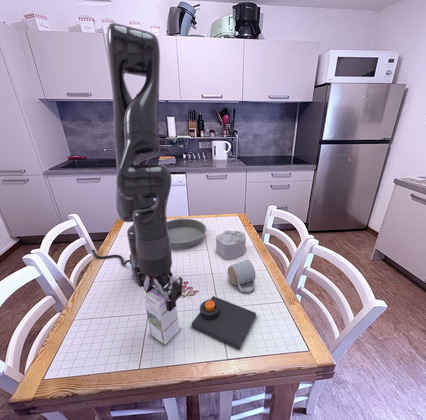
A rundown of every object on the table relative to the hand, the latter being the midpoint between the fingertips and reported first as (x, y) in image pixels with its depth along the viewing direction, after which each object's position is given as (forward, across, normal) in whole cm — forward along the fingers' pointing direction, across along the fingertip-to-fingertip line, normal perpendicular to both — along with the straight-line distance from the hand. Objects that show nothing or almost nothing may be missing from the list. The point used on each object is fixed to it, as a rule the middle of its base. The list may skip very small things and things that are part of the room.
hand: (161, 304), depth 62 cm
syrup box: (+11, 0, 0) cm, 11 cm away
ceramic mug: (+11, -11, -29) cm, 33 cm away
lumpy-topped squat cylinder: (+11, +2, -46) cm, 47 cm away
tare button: (+7, -8, -11) cm, 16 cm away
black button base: (+11, -13, -11) cm, 20 cm away
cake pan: (+11, +29, -45) cm, 55 cm away
